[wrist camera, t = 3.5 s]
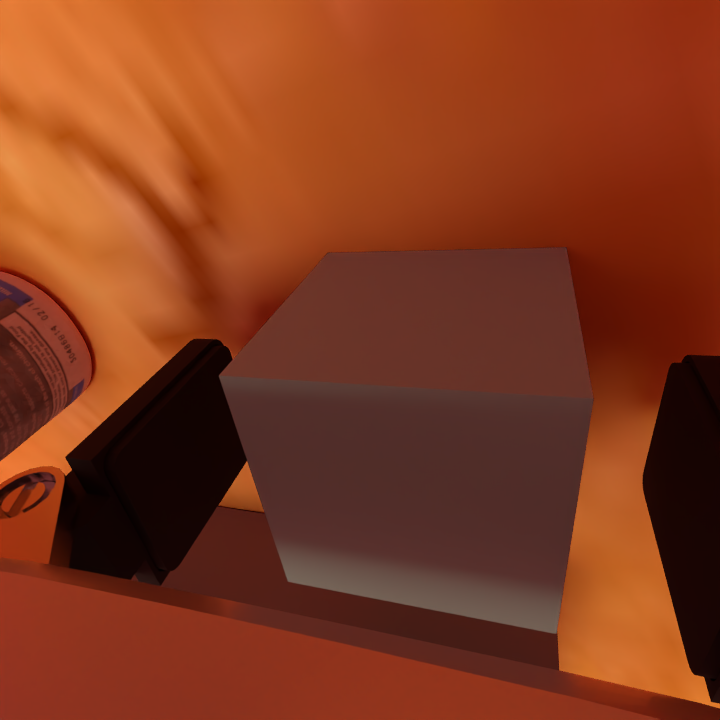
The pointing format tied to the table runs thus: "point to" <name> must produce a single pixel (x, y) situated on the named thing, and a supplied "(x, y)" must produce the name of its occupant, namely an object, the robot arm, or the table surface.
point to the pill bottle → (36, 361)
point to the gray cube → (422, 428)
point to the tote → (333, 594)
